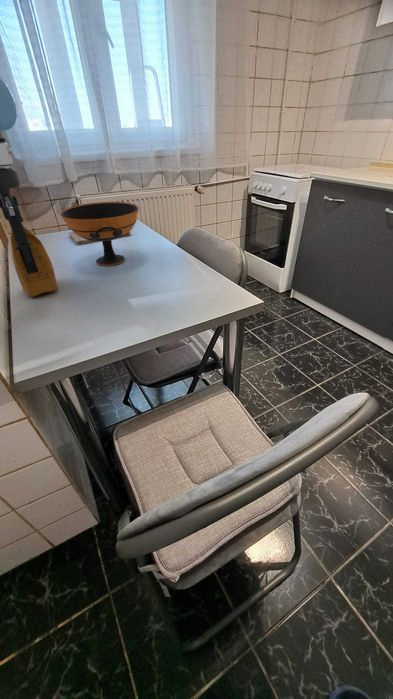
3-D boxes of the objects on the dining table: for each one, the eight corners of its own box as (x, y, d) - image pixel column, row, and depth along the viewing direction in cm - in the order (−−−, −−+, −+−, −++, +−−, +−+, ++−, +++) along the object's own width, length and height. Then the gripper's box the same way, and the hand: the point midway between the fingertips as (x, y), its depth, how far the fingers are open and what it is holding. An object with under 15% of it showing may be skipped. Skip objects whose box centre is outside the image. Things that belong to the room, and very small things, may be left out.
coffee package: (56, 278, 97) (32, 206, 84) (61, 292, 88) (35, 213, 75) (23, 285, 94) (-8, 210, 81) (25, 300, 85) (-9, 219, 72)
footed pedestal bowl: (74, 250, 120) (61, 202, 109) (136, 242, 126) (130, 197, 116) (75, 285, 93) (58, 227, 82) (154, 273, 99) (148, 217, 88)
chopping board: (77, 244, 126) (76, 241, 125) (69, 235, 137) (68, 232, 136) (130, 235, 135) (130, 231, 134) (119, 227, 146) (118, 224, 145)
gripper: (17, 168, 61) (51, 277, 75) (12, 164, 70) (44, 262, 84) (-26, 170, 58) (19, 283, 72) (-25, 166, 67) (15, 267, 81)
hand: (32, 272), depth 78 cm, fingers closed
